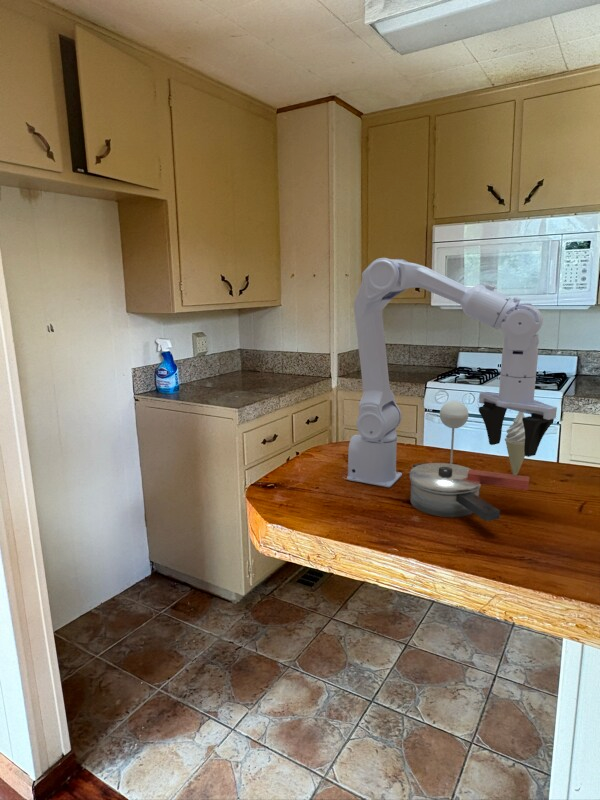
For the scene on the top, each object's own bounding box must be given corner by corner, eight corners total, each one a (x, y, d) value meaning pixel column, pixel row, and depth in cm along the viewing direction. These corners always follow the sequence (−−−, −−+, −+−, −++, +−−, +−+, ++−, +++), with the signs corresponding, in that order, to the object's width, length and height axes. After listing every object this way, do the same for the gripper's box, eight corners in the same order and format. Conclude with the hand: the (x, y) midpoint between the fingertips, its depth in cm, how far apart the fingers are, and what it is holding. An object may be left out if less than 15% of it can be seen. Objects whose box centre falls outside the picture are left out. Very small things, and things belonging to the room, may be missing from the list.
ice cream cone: (530, 483, 106) (537, 410, 102) (503, 481, 107) (509, 409, 103) (525, 474, 111) (531, 404, 107) (499, 472, 112) (505, 404, 108)
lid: (403, 486, 93) (403, 475, 92) (417, 463, 104) (417, 453, 104) (528, 504, 85) (529, 492, 85) (528, 477, 96) (529, 467, 96)
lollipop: (433, 463, 118) (436, 398, 114) (458, 462, 118) (462, 397, 115) (442, 473, 112) (446, 404, 108) (469, 472, 112) (474, 404, 109)
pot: (384, 517, 91) (385, 492, 90) (415, 481, 107) (415, 460, 106) (496, 541, 83) (498, 513, 82) (511, 498, 99) (513, 475, 98)
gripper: (469, 371, 96) (464, 442, 99) (540, 384, 83) (532, 465, 87) (495, 367, 99) (490, 436, 102) (567, 379, 87) (559, 457, 90)
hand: (511, 449), depth 95 cm, fingers open, 7 cm apart
